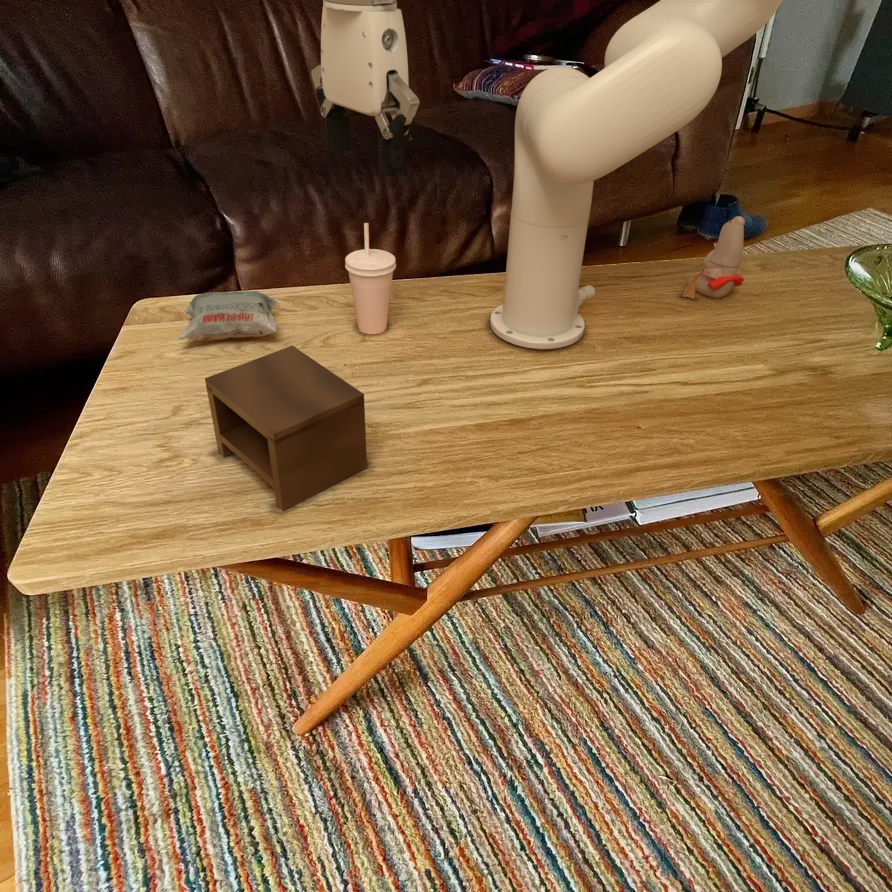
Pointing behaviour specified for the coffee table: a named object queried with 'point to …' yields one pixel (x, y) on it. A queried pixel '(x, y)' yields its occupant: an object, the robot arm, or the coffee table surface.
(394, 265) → the smoothie
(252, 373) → the box
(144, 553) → the coffee table surface
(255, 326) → the packaged food
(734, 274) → the figurine
